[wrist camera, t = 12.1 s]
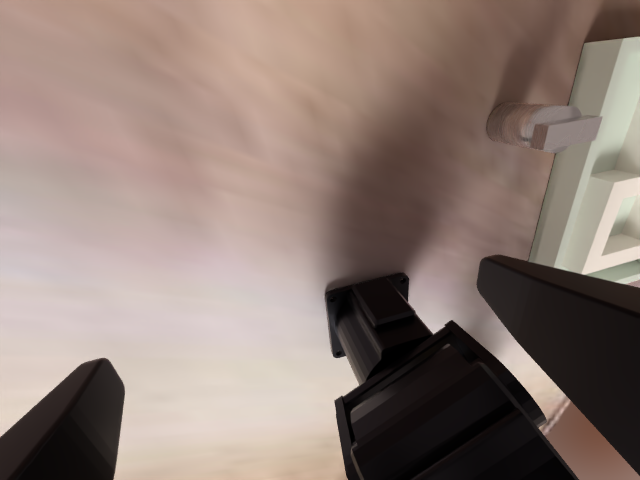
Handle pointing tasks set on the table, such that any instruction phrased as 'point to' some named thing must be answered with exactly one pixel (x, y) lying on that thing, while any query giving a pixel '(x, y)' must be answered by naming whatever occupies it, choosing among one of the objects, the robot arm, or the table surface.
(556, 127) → the grey knob with bar
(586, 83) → the tray
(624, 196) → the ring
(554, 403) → the table surface
